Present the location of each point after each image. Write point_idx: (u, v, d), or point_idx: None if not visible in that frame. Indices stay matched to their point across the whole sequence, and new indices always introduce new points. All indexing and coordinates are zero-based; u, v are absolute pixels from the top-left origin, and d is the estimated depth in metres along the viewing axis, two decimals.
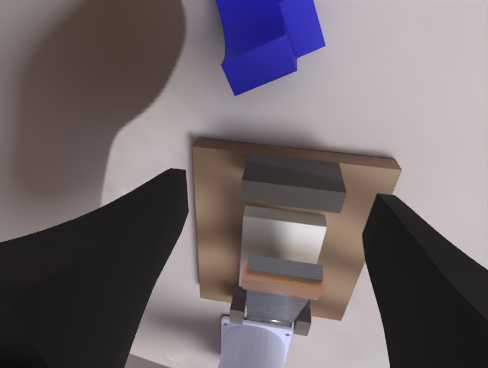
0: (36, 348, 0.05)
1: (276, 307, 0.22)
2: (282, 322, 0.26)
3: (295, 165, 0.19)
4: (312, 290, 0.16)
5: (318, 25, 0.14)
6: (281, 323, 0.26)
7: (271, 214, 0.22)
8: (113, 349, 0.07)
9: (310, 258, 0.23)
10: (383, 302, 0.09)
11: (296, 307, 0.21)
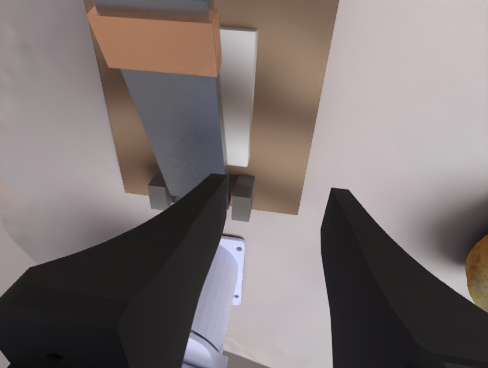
0: (129, 366, 0.05)
1: (191, 152, 0.16)
2: None
3: None
4: (195, 29, 0.10)
5: None
6: None
7: None
8: (173, 360, 0.07)
9: (241, 95, 0.17)
10: (331, 294, 0.09)
11: (213, 142, 0.15)
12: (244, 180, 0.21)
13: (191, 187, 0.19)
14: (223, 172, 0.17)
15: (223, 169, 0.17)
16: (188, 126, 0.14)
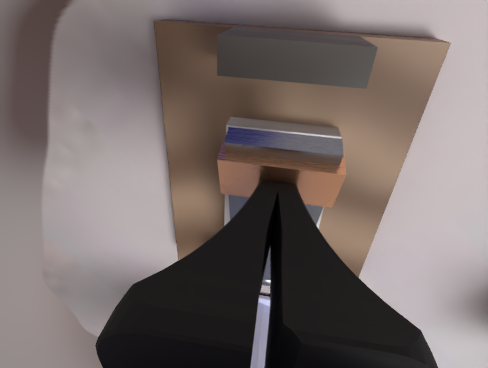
0: None
1: None
2: None
3: (298, 34, 0.13)
4: (326, 177, 0.10)
5: None
6: None
7: (265, 125, 0.16)
8: None
9: None
10: (271, 285, 0.09)
11: None
12: None
13: None
14: None
15: None
16: None
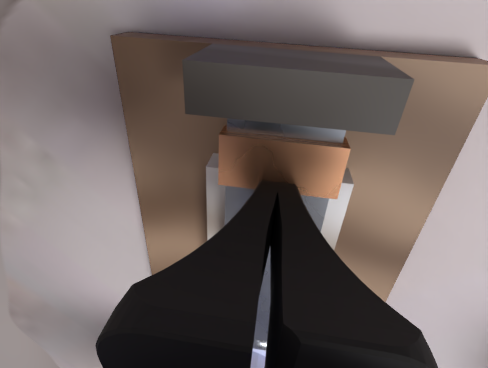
0: None
1: (269, 280, 0.14)
2: None
3: (298, 54, 0.10)
4: (331, 152, 0.10)
5: None
6: None
7: None
8: None
9: None
10: (271, 285, 0.09)
11: None
12: None
13: None
14: None
15: None
16: None
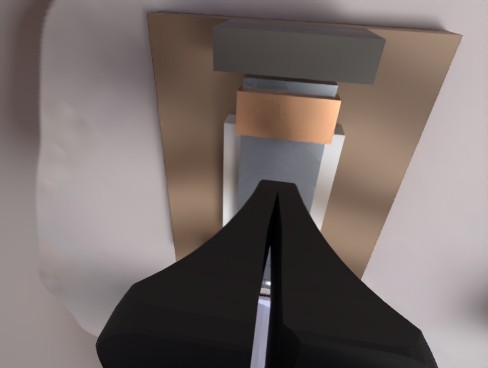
0: None
1: None
2: None
3: (300, 26, 0.12)
4: (325, 104, 0.12)
5: None
6: None
7: None
8: None
9: (320, 190, 0.16)
10: (271, 285, 0.09)
11: None
12: None
13: None
14: None
15: None
16: None
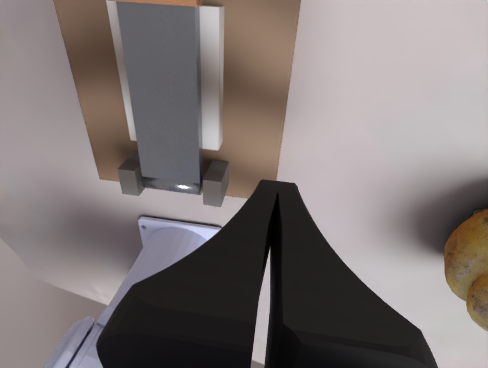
0: None
1: (168, 108, 0.17)
2: (187, 182, 0.19)
3: None
4: None
5: None
6: (185, 185, 0.19)
7: None
8: None
9: (208, 75, 0.17)
10: (271, 285, 0.09)
11: (189, 92, 0.16)
12: (217, 165, 0.20)
13: (164, 161, 0.19)
14: (197, 135, 0.18)
15: (197, 131, 0.17)
16: (168, 73, 0.16)
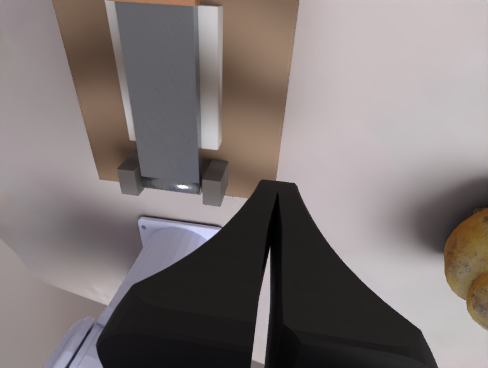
0: None
1: (166, 108, 0.17)
2: (186, 182, 0.19)
3: None
4: None
5: None
6: (185, 184, 0.19)
7: None
8: None
9: (207, 74, 0.17)
10: (271, 285, 0.09)
11: (188, 92, 0.16)
12: (216, 165, 0.20)
13: (163, 161, 0.19)
14: (196, 135, 0.18)
15: (196, 130, 0.17)
16: (167, 73, 0.16)
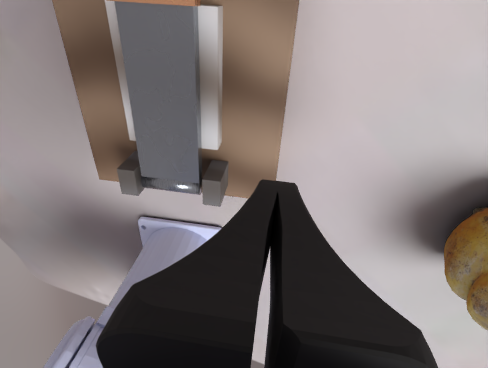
0: None
1: (166, 108, 0.17)
2: (186, 182, 0.19)
3: None
4: None
5: None
6: (185, 184, 0.19)
7: None
8: None
9: (207, 74, 0.17)
10: (271, 285, 0.09)
11: (188, 92, 0.16)
12: (216, 165, 0.20)
13: (163, 161, 0.19)
14: (196, 135, 0.18)
15: (196, 130, 0.17)
16: (167, 73, 0.16)
